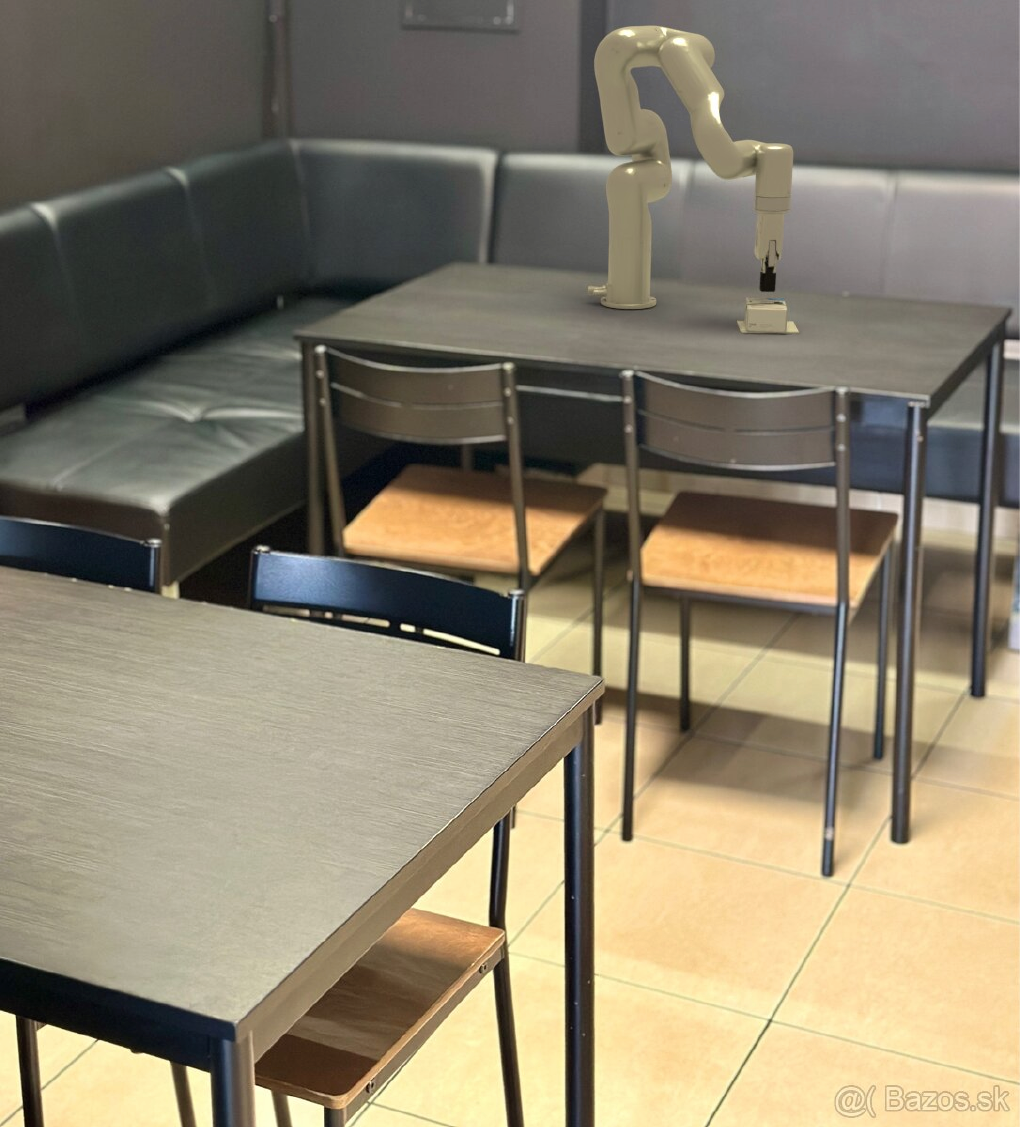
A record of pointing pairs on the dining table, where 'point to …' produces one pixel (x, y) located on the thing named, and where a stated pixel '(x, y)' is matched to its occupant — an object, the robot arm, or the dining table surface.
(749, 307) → the ink box
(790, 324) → the mat
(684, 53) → the robot arm
